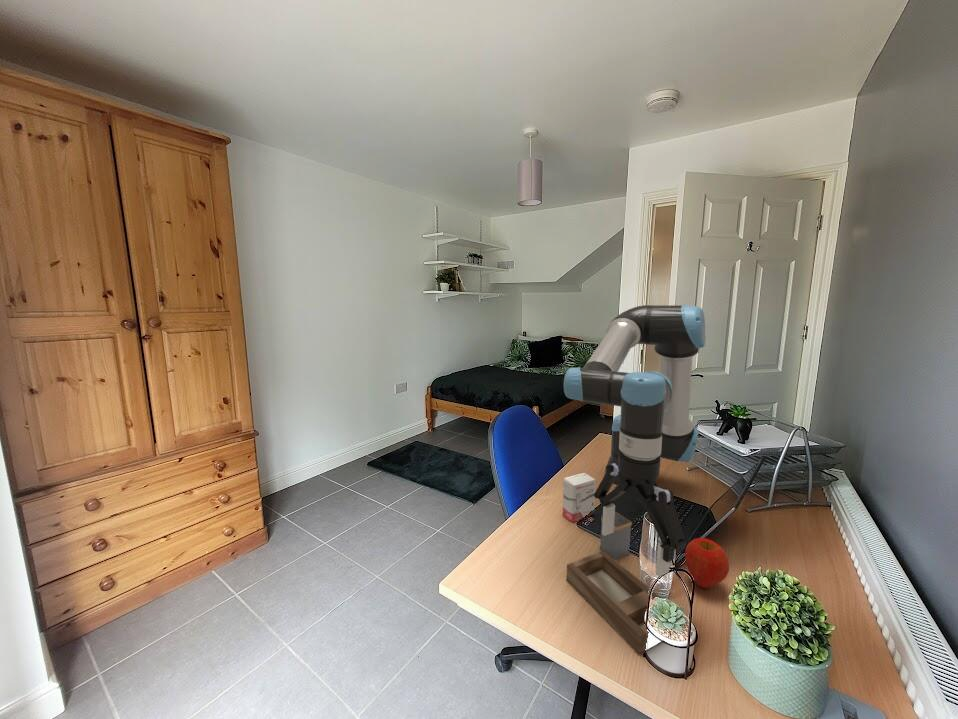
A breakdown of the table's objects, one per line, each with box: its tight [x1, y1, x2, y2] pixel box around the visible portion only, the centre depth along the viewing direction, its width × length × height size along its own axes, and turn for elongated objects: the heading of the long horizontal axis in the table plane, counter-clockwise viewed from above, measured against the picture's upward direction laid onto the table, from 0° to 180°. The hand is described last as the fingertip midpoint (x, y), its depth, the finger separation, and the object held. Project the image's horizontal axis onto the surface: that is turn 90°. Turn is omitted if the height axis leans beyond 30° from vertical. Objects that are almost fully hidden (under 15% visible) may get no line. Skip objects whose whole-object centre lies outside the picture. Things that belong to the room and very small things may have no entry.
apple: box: [684, 537, 730, 589], centre depth 86 cm, size 9×8×11 cm
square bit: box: [599, 511, 633, 561], centre depth 98 cm, size 5×5×9 cm
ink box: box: [562, 472, 597, 523], centre depth 114 cm, size 9×5×12 cm, turn 116°
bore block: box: [565, 550, 662, 656], centre depth 82 cm, size 11×21×4 cm, turn 26°
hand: (632, 551), depth 77 cm, fingers open, 13 cm apart
